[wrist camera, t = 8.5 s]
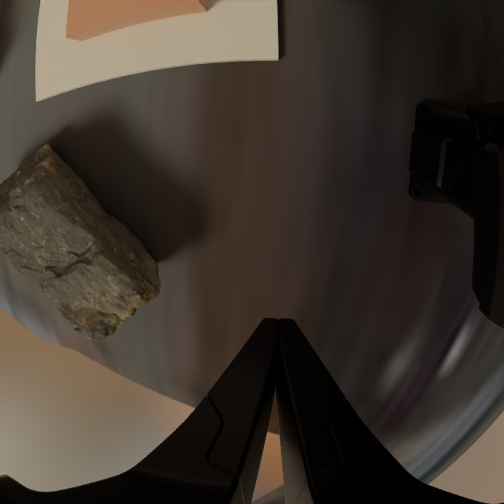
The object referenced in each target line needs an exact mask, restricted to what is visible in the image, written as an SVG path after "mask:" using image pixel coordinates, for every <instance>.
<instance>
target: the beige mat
mask: <svg viewBox="0 0 504 504" xmlns="http://www.w3.org/2000/svg"><path fill="white" fill-rule="evenodd" d="M68 3H69V0H41V3H40V10H39V19H38V29H37V42H36V101H42V100H44V99H47V98H50V97H53V96H55V95H58V94H61V93H64V92H67V91H71V90H74V89H77V88H80V87H84V86H87V85H91V84H94V83H98V82H102V81H106V80H110V79H114V78H118V77H123V76H127V75H132V74H137V73H142V72H148V71H153V70H159V69H165V68H172V67H179V66H187V65H196V64H206V63H218V62H234V61H278V17H277V0H207V12H203V13H195V14H188V15H182V16H176V17H170V18H165V19H160V20H155V21H150V22H146V23H142V24H137V25H133V26H130V27H126V28H122V29H119V30H115V31H112V32H108V33H105V34H102V35H99V36H96V37H93V38H90V39H87V40H84V41H79V40H73V39H68V38H66V25H67V13H68Z"/></svg>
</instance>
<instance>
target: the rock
mask: <svg viewBox="0 0 504 504" xmlns="http://www.w3.org/2000/svg"><path fill="white" fill-rule="evenodd" d="M0 250H1V251H2V252H3V253H4V254H5V256H6V257H7V259H8V260H9V262H10V263H11V264H12V265H13V266H14V267H15V268H16V269H17V271H18V272H19V273H20V274H21V275H23V276H24V277H25V278H26V279H27V280H28V281H29V282H30V283H32V284H33V285H35V286H36V287H37V288H38V289H39V290H40V291H41V292H42V293H43V294H44V295H45V296H47V297H48V298H49V299H50V300H51V301H52V302H53V303H54V305H55V306H56V308H57V309H58V310H59V312H60V313H61V314H62V316H63V318H64V320H65V321H66V322H68V323H69V324H70V325H71V326H72V328H73V330H74V331H75V332H77V333H78V334H79V335H80V336H81V337H83V338H86V339H91V340H97V339H102V338H104V337H106V336H107V335H112V334H114V333H115V332H116V330H117V329H118V328H119V327H120V326H121V324H122V323H124V321H125V320H124V319H125V318H128V317H131V316H133V315H134V314H135V312H136V309H137V308H139V307H140V306H141V305H142V304H146V303H148V301H149V300H151V299H154V298H155V297H156V296H158V295H159V292H160V286H161V281H160V278H159V275H158V265H157V263H156V262H155V261H154V260H153V258H152V257H151V256H150V255H149V253H148V252H147V250H146V249H145V247H144V245H143V244H142V243H141V241H140V240H139V239H137V238H136V237H135V236H134V235H133V234H132V233H131V232H130V231H129V230H128V229H127V228H126V227H125V226H124V225H123V224H122V223H121V222H120V221H119V220H117V219H116V218H115V217H113V216H110V215H108V214H107V213H106V212H105V211H104V209H103V208H102V207H101V205H100V203H99V202H98V200H97V199H96V198H95V196H94V195H93V194H92V193H91V192H90V191H89V189H88V188H87V187H86V185H85V183H84V182H83V181H82V180H81V179H80V178H79V176H78V175H77V174H75V173H74V171H73V170H72V169H71V168H70V167H69V166H68V165H67V164H66V163H65V162H63V160H62V159H61V158H60V157H59V156H58V155H57V154H56V153H55V152H54V151H53V150H52V149H51V147H50V146H49V144H45V145H44V146H42V147H41V148H39V149H38V150H37V151H36V152H35V153H34V154H33V155H32V156H31V157H29V158H26V159H25V160H24V161H23V162H22V164H21V165H20V166H19V168H18V169H17V170H16V171H15V172H14V173H13V174H12V175H11V176H10V177H9V178H7V179H6V180H4V181H3V182H2V183H1V184H0Z"/></svg>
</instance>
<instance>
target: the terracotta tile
mask: <svg viewBox="0 0 504 504" xmlns="http://www.w3.org/2000/svg"><path fill="white" fill-rule="evenodd" d="M203 12H207V0H69V3H68V13H67V25H66V38H68V39H73V40H79V41H84V40H87V39H90V38H93V37H96V36H99V35H102V34H105V33H108V32H112V31H115V30H119V29H122V28H126V27H130V26H133V25H137V24H142V23H146V22H150V21H155V20H160V19H165V18H170V17H176V16H182V15H188V14H195V13H203Z"/></svg>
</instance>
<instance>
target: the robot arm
mask: <svg viewBox="0 0 504 504" xmlns="http://www.w3.org/2000/svg"><path fill="white" fill-rule="evenodd" d="M423 107H424V108H425V110H426V113H425V114H423V113H422V108H423ZM466 110H467V114H465V113H461V112H458V111H454V110H450V109H446V108H442V107H438V106H434V105H430V104H424V103H420V104H418V105H417V107H416V119H415V131H414V132H413V133H412V142H411V153H410V164H409V170H410V171H411V177H410V184H409V195H410V197H412V198H413V199H414V200H420V201H430V202H440V203H449V204H454V205H455V206H456V207H458V208H459V209H461V210H462V211H463V212H465V213H466V214H467V215H469V216H470V217H471V218H473V219H474V255H473V272H472V288H473V290H474V293H475V295H476V297H477V300H478V301H479V303H480V306H479V309H480V311H481V312H482V313H483V314H484V315H485V316H486V317H487V318H488V319H489V320H491V321H492V322H494V323H495V324H497V325H498V326H500V327H502V328H504V102H494V103H484V104H474V105H466ZM417 189H418V193H417V194H416V195H414V191H415V190H417ZM275 384H276V402H277V413H278V423H279V434H280V445H281V456H282V467H283V480H284V491H285V503H286V504H488V503H483V502H479V501H475V500H472V499H468V498H465V497H462V496H459V495H456V494H453V493H450V492H447V491H444V490H441V489H438V488H436V487H433V486H430V485H427V484H425V483H423V482H421V481H419V480H418V479H416V478H415V477H413V476H412V475H411V474H410V473H408V472H407V471H406V470H405V469H404V468H403V467H402V465H401V464H400V463H399V462H398V461H397V460H396V459H395V458H394V457H393V456H392V455H391V454H390V452H389V451H388V450H387V449H386V448H385V447H384V446H383V445H382V444H381V443H380V441H379V440H378V439H377V438H376V437H375V436H374V435H373V433H372V432H371V431H370V430H369V429H368V428H367V426H366V425H365V424H364V423H363V421H362V420H361V419H360V417H359V416H358V414H357V413H356V412H355V410H354V409H353V407H352V406H351V404H350V403H349V401H348V400H346V397H345V396H344V394H343V393H342V391H341V390H340V388H339V387H338V385H337V384H336V382H335V381H334V379H333V378H332V376H331V375H330V373H329V372H328V370H327V369H326V367H325V366H324V364H323V363H322V361H321V360H320V358H319V357H318V355H317V354H316V352H315V351H314V349H313V348H312V346H311V345H310V343H309V342H308V340H307V339H306V337H305V336H304V334H303V333H302V331H301V330H300V328H299V327H298V325H297V324H296V322H295V321H294V320H293V319H287V318H281V319H279V321H278V319H277V318H264V319H263V320H262V321H261V323H260V324H259V325H258V327H257V328H256V330H255V331H254V332H253V334H252V335H251V336H250V338H249V339H248V341H247V342H246V343H245V345H244V346H243V347H242V349H241V350H240V351H239V353H238V354H237V355H236V357H235V358H234V359H233V361H232V362H231V363H230V365H229V366H228V367H227V369H226V370H225V371H224V373H223V374H222V375H221V377H220V378H219V379H218V381H217V382H216V383H215V385H214V386H213V387H212V388H211V390H210V391H209V392H208V394H207V396H205V397H204V399H203V400H202V401H201V402H200V404H199V405H198V406H197V407H196V408H195V410H194V411H193V412H192V413H191V414H190V415H189V417H188V418H187V419H186V420H185V421H184V422H183V423H182V424H181V425H180V426H179V427H178V428H177V429H176V430H175V431H174V432H173V433H172V434H171V435H170V436H169V437H167V438H166V439H165V440H164V441H163V442H162V443H161V444H160V445H159V446H157V447H156V448H155V449H154V450H153V451H152V452H151V453H150V454H149V455H147V456H146V457H145V458H144V459H143V460H142V461H140V462H139V463H138V464H137V465H135V466H134V467H132V468H131V469H130V470H127V471H126V472H124V473H121V474H119V475H116V476H113V477H110V478H107V479H103V480H100V481H96V482H92V483H89V484H85V485H81V486H77V487H73V488H68V489H63V490H58V491H52V492H39V491H35V490H31V489H28V488H26V487H25V486H23V485H22V484H20V483H19V482H17V481H16V480H14V479H13V478H11V477H10V476H8V475H2V476H0V504H251V501H252V497H253V492H254V488H255V484H256V480H257V475H258V471H259V467H260V462H261V458H262V453H263V449H264V444H265V439H266V434H267V430H268V425H269V420H270V415H271V410H272V405H273V399H274V393H275ZM499 504H504V503H499Z"/></svg>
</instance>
